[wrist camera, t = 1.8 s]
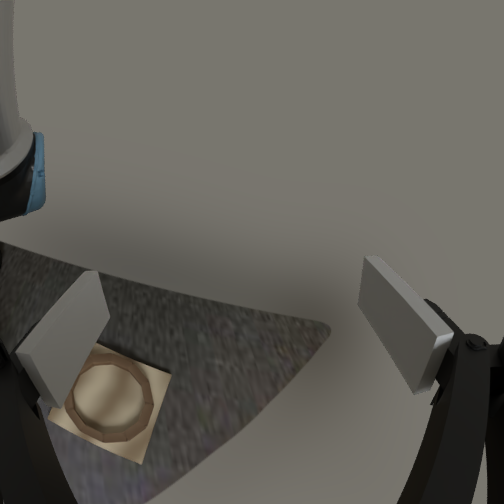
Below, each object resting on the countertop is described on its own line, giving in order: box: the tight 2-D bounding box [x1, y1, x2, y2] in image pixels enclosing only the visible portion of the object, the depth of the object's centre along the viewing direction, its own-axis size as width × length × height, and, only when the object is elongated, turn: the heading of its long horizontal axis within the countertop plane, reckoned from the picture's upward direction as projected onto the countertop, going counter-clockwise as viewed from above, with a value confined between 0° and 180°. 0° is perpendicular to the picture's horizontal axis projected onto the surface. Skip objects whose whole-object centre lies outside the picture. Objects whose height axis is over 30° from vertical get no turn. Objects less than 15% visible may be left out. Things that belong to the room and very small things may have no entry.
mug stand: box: [48, 343, 171, 464], centre depth 33 cm, size 14×14×2 cm
